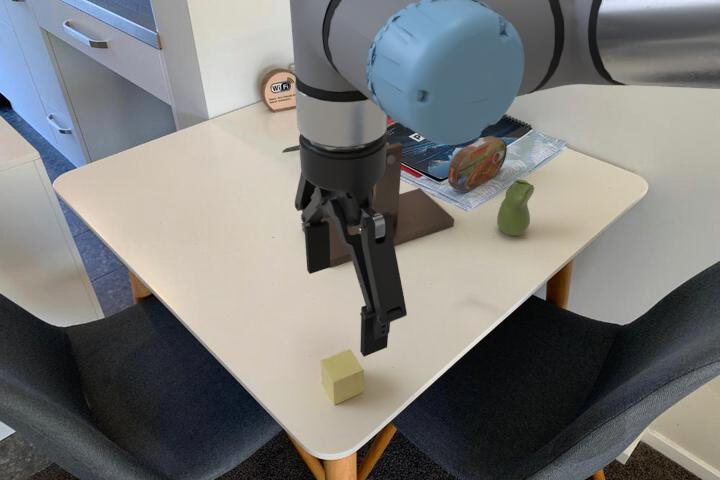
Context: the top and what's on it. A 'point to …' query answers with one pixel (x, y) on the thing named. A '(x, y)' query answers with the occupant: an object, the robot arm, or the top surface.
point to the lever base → (395, 209)
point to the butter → (342, 376)
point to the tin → (477, 163)
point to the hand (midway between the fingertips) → (344, 306)
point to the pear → (515, 208)
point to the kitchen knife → (291, 149)
